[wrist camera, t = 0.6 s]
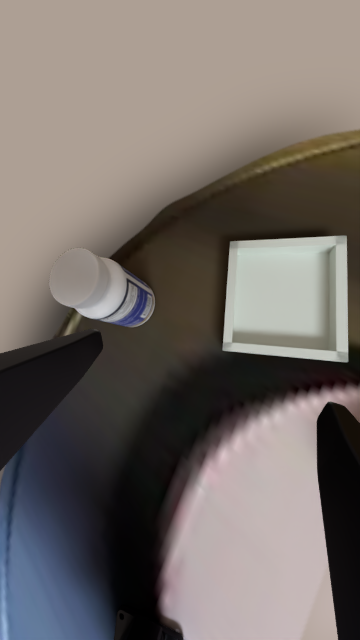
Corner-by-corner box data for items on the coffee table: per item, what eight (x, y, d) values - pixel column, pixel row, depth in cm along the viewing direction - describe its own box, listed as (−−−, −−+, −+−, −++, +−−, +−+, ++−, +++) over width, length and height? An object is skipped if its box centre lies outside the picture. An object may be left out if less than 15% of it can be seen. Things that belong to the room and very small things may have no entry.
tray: (337, 361, 19) (348, 362, 17) (224, 350, 22) (222, 350, 20) (336, 246, 20) (346, 235, 18) (230, 250, 23) (230, 241, 21)
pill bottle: (108, 296, 27) (35, 264, 17) (145, 273, 26) (90, 226, 16) (123, 336, 25) (53, 325, 16) (164, 313, 24) (115, 287, 15)
